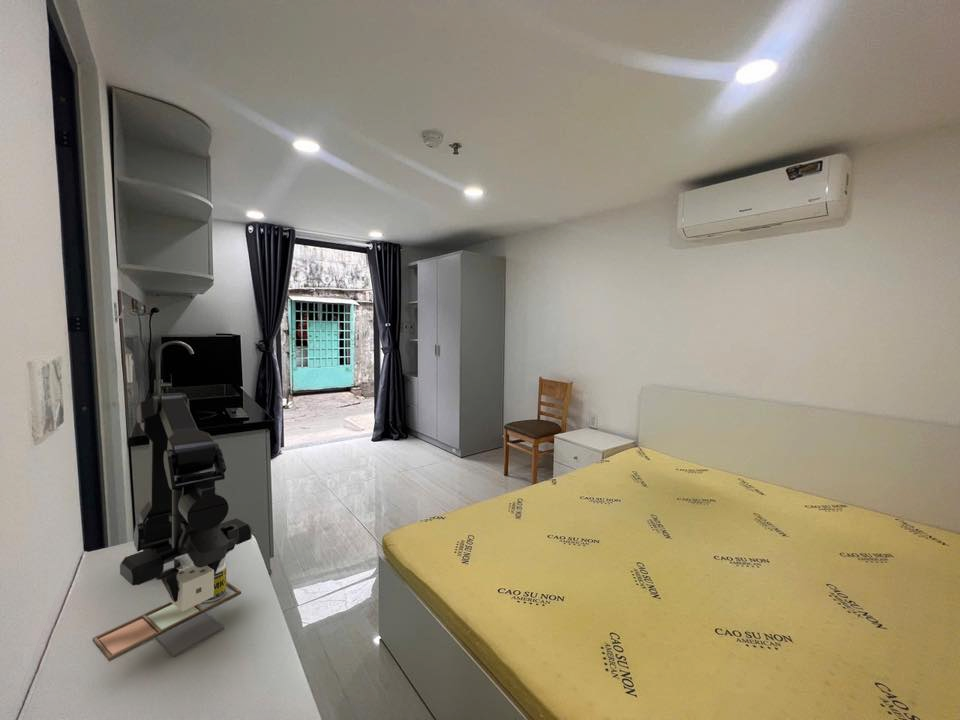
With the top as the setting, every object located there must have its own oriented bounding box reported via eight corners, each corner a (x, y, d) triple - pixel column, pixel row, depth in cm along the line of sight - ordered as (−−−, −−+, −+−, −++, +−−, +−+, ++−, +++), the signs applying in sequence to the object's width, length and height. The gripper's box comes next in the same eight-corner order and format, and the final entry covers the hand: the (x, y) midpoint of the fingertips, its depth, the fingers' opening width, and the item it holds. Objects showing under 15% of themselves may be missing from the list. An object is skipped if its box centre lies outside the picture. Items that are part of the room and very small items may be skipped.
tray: (92, 640, 71) (92, 637, 71) (221, 580, 89) (221, 578, 89) (109, 660, 67) (109, 658, 67) (240, 593, 85) (241, 591, 85)
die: (168, 600, 72) (168, 573, 72) (200, 586, 76) (200, 560, 76) (182, 612, 69) (182, 584, 69) (214, 596, 74) (214, 569, 73)
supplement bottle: (212, 605, 81) (212, 565, 81) (192, 601, 82) (193, 561, 82) (231, 590, 86) (231, 552, 86) (212, 587, 87) (213, 549, 86)
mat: (155, 639, 72) (155, 637, 72) (205, 613, 79) (205, 611, 79) (173, 657, 68) (173, 654, 68) (223, 628, 75) (223, 626, 75)
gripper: (147, 545, 60) (147, 645, 61) (268, 503, 76) (267, 583, 77) (118, 524, 66) (119, 615, 67) (236, 489, 81) (235, 563, 82)
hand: (191, 593), depth 73 cm, fingers closed on die, 5 cm apart
